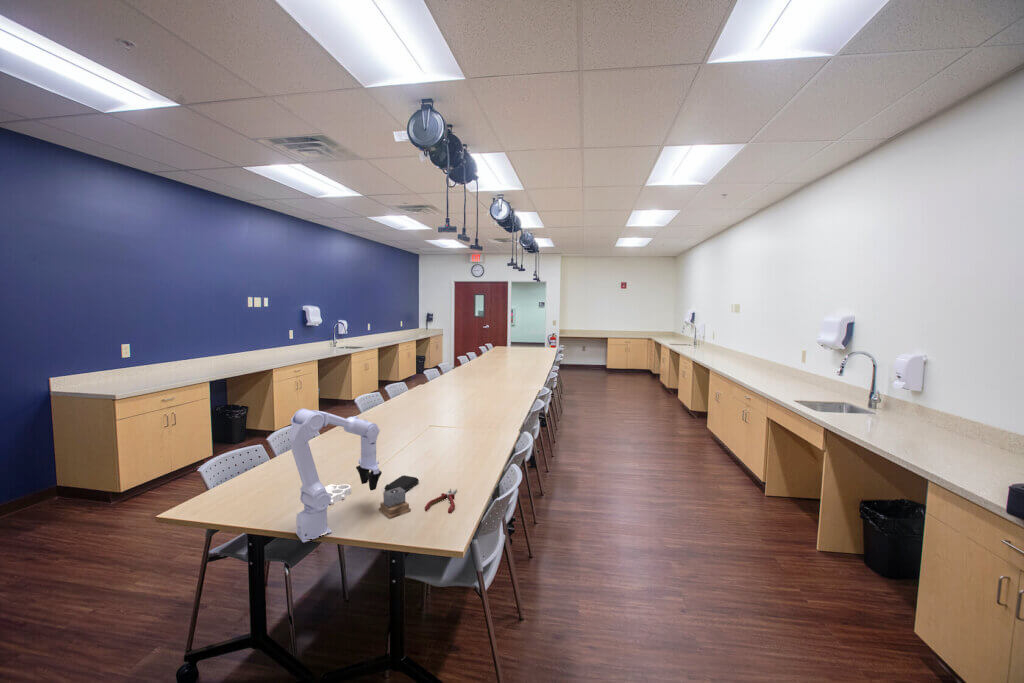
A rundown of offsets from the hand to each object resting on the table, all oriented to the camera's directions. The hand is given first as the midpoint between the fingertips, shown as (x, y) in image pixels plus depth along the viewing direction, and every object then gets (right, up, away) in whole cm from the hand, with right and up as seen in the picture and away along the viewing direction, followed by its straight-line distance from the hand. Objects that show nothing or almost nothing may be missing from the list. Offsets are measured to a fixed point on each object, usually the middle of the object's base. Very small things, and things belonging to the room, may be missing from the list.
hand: (368, 486), depth 161 cm
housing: (+10, -7, -1) cm, 12 cm away
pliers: (+30, -10, +8) cm, 33 cm away
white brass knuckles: (-20, -9, +9) cm, 24 cm away
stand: (+10, -10, 0) cm, 14 cm away
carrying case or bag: (+7, -8, +21) cm, 24 cm away
